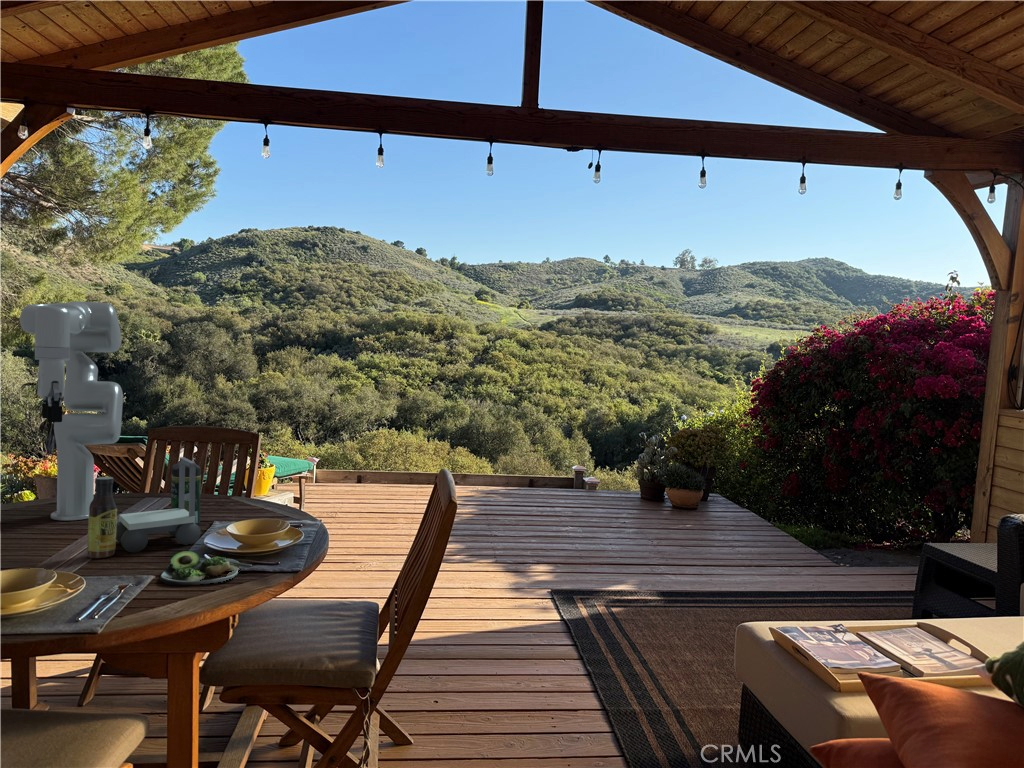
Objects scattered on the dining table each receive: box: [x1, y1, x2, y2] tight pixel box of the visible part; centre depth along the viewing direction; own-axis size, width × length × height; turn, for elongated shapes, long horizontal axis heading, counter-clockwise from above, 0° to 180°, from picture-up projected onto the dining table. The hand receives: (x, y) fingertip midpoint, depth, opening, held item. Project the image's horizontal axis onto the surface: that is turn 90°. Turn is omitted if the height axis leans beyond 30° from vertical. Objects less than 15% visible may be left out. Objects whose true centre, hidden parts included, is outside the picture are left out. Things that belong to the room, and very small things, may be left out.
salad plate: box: [159, 550, 253, 587], centre depth 166 cm, size 19×18×5 cm
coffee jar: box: [170, 461, 202, 525], centre depth 209 cm, size 10×8×19 cm
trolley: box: [116, 456, 202, 554], centre depth 188 cm, size 12×19×22 cm, turn 130°
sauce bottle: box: [86, 476, 118, 559], centre depth 175 cm, size 7×6×20 cm
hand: (51, 420), depth 180 cm, fingers open, 9 cm apart
